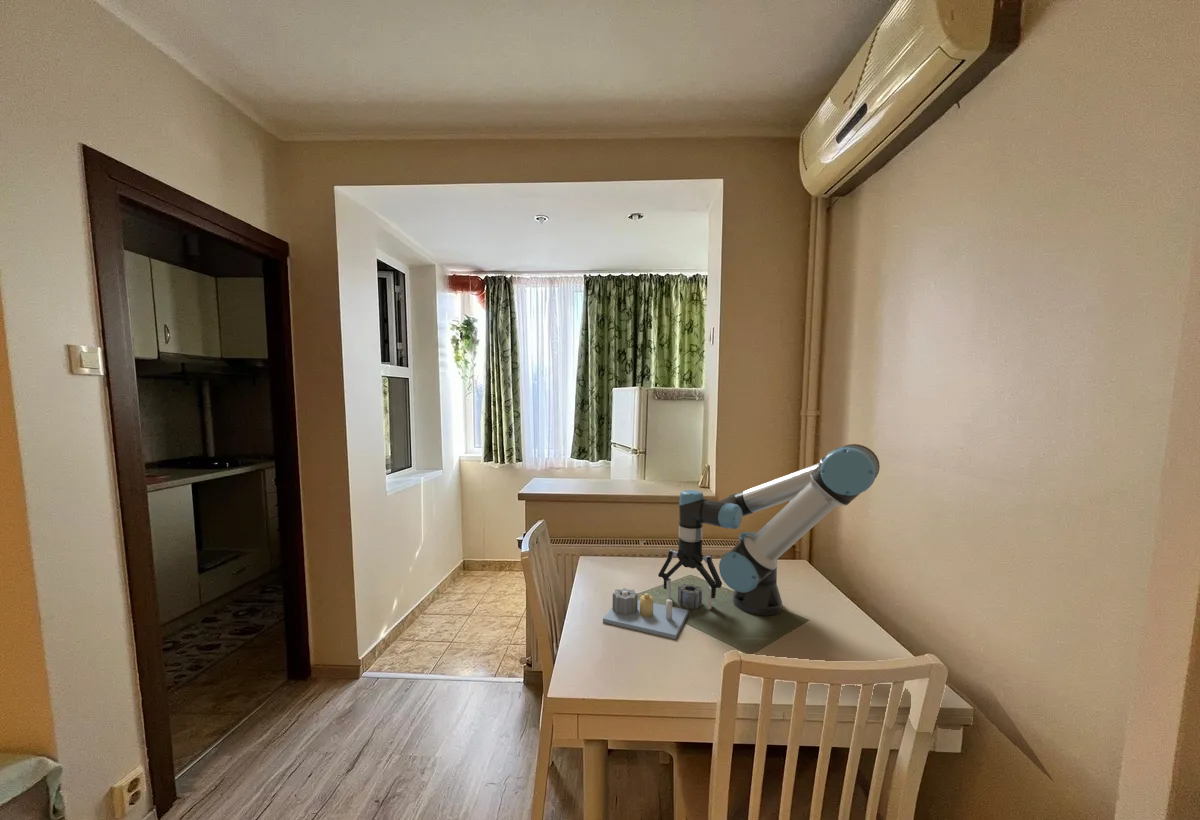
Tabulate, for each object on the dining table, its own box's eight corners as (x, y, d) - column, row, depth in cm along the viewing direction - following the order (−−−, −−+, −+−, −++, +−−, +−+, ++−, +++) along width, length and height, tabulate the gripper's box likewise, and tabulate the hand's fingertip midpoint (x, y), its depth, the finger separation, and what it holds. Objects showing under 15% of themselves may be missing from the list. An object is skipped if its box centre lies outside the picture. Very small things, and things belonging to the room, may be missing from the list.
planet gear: (699, 598, 146) (699, 583, 146) (703, 609, 138) (704, 593, 138) (676, 598, 146) (676, 583, 146) (680, 608, 139) (680, 593, 139)
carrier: (688, 613, 135) (688, 590, 135) (675, 639, 121) (675, 613, 121) (622, 600, 144) (622, 578, 144) (602, 622, 130) (603, 598, 130)
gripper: (731, 540, 140) (730, 605, 141) (656, 530, 150) (655, 591, 151) (728, 547, 133) (726, 616, 134) (649, 536, 144) (648, 600, 144)
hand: (688, 603), depth 142 cm, fingers open, 13 cm apart
